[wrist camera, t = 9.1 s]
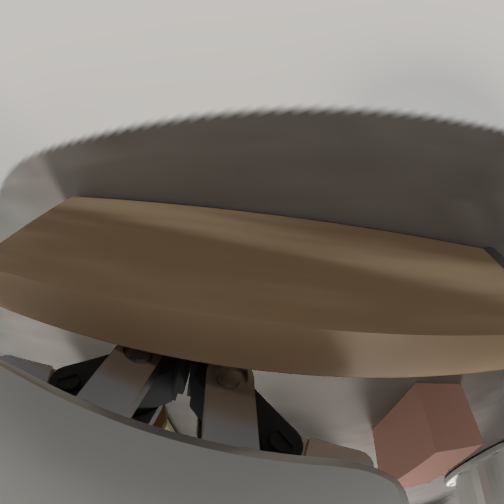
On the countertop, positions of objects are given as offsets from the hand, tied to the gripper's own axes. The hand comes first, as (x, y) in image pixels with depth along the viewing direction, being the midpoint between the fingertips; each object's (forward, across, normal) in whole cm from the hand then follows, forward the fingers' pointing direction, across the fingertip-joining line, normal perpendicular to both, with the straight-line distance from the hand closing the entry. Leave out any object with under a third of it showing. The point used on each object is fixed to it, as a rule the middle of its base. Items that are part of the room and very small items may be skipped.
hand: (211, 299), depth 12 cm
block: (+2, -16, +8) cm, 18 cm away
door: (+2, -3, -3) cm, 5 cm away
